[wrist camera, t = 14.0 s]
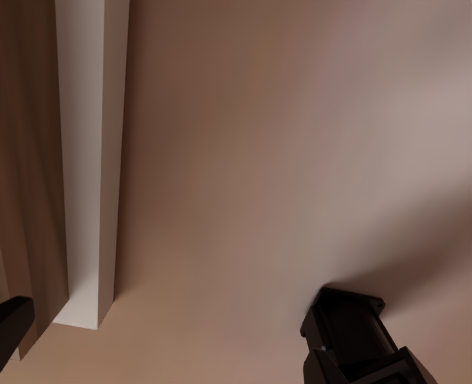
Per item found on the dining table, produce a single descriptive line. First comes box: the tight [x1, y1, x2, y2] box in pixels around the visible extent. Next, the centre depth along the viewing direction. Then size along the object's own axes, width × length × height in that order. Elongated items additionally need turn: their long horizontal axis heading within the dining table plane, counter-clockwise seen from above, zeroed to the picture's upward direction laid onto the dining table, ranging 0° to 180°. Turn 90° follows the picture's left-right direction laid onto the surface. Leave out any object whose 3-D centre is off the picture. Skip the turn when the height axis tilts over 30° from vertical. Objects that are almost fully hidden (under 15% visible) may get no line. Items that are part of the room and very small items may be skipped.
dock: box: [52, 0, 130, 330], centre depth 17 cm, size 11×30×3 cm, turn 167°
